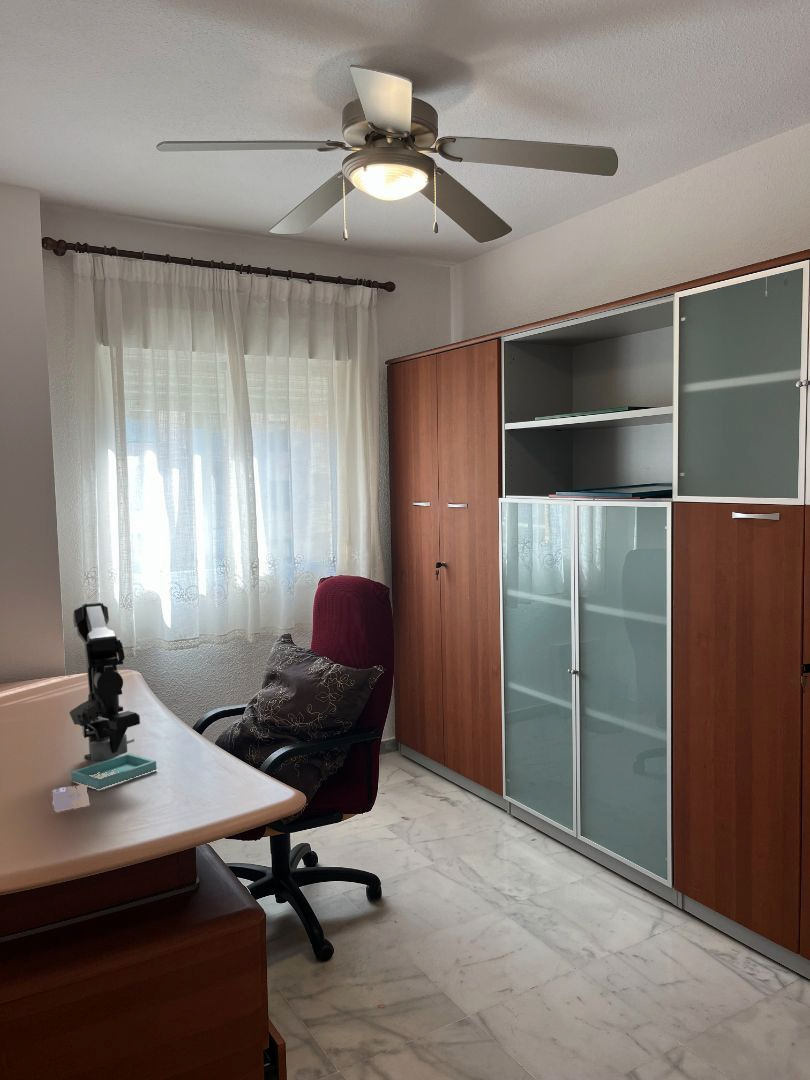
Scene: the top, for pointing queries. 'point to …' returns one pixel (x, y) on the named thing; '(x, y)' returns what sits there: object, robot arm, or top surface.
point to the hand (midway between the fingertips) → (109, 751)
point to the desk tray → (123, 764)
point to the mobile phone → (64, 798)
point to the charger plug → (107, 748)
